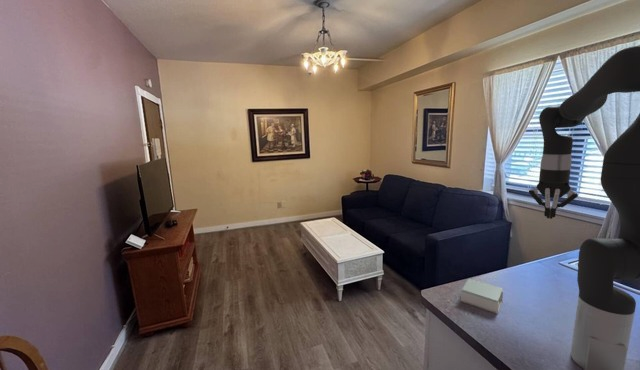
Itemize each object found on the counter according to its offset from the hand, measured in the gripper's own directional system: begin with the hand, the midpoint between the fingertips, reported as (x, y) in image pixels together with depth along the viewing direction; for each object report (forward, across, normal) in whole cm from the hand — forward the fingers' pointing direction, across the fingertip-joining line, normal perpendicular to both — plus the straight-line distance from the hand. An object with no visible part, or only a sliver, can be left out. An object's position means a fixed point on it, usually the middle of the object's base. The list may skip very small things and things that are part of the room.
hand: (549, 218), depth 90 cm
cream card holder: (+29, -15, -17) cm, 37 cm away
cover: (+25, -15, -17) cm, 34 cm away
